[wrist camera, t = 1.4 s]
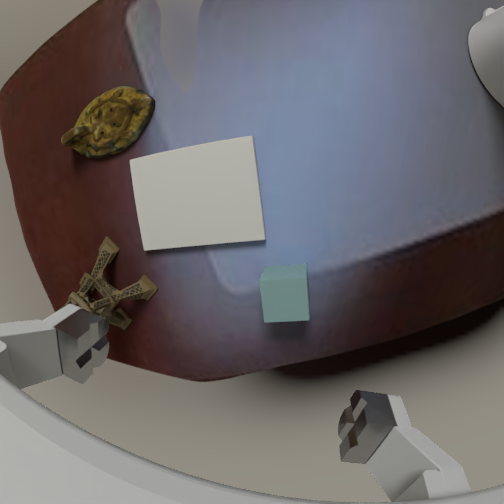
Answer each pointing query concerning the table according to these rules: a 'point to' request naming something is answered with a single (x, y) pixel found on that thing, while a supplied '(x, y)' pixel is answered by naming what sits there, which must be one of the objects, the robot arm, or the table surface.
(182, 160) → the board
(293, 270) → the cube
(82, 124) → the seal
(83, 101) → the table surface
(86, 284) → the eiffel tower
